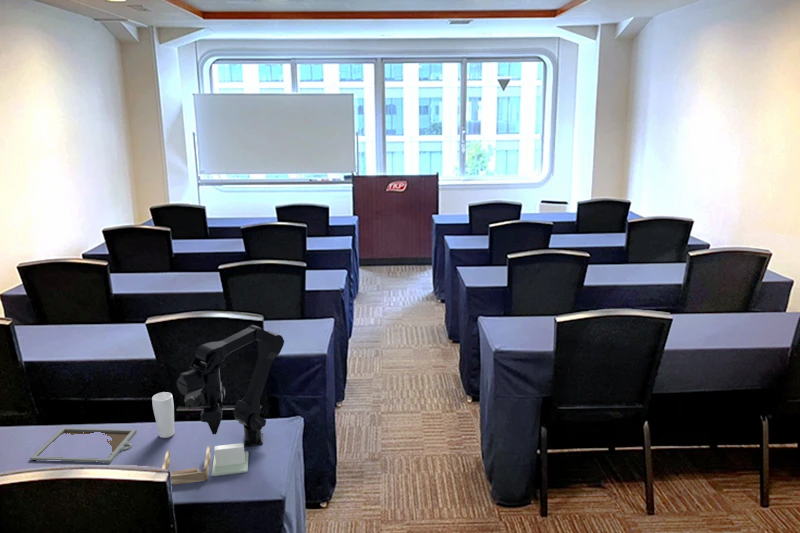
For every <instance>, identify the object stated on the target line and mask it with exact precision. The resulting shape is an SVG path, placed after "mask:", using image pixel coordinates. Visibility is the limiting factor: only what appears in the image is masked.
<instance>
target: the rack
mask: <svg viewBox="0 0 800 533" xmlns="http://www.w3.org/2000/svg"><path fill="white" fill-rule="evenodd" d="M211 452H212V451H211V445H207V446H206V452H205V459H204V466H203V471H200V470H199V471H200V472H192V473H183V474H175V475H173V474H170V475H171V482H172V485H171V486H173V485H174V486H175V485H183V484H190V483H198V482H205V481H207V480H208V478H209V472H210V464H211V459H212V455H211ZM170 464H171V454H170V450H169V449H168V450H166V452H165V456H164V459H163V462H162V466H161V470H162V469H165V470H168V471H169V468H170Z"/></svg>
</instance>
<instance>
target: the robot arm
mask: <svg viewBox="0 0 800 533" xmlns="http://www.w3.org/2000/svg"><path fill="white" fill-rule="evenodd" d="M255 341H258V343H257V353H258V358H257V360H256V364H255V367H254V370H253V371H252V374H251V375H252V376H251V378H250V382H249V384H248V388H247V389H246V393H245V395H244V397H243V398H242V399H241V400H240V399H237V400H236V402H235V406H234V408H233V410H232V411H233V417H234V419H235V420H236V421H237V422H238V423H239V424H240V425H241V424H242V426H243V431H244V432H243V433H244V435H243V443H244V447H247V446H256V445H263V444H264V433H263V432H262V429H263V428H264V427H265V426H266V424H267V419H266V418H264V417H262V416H261V411H262V409H261V403H260V400H261V396H262V394H263V392H264V387H265V385H266V382H267V378H268V375H269V372H270V370H271V366H272V363H273V361H274V359H276V358H277V357H278V355H280V354H281V351H282V349H283V347H284V344H285V339H284V337H283V336H282V335H280V334H278V333H275V332H273V331H269V330H265V329H263V328H262V327H261V326H257V325H255V324H251V325H249V326H248V327H247V328H245V329H241V330H240V331H239V332H237V333H234V334H232V335H231V336H228V337H226V338H224V339H222V340H219V341H210V342H206V343H204V344H201V345H199V346H198V347H197V350H196V352H195V354H194V356H193V359H192V361H191V363H190V365H189V368H190V370H188V371H186V372H185V371H183V372H181V373H180V374H179V377H178V378H177V379H176V387H177V389H178V391H179V393H180V394H181V395H183V396H184V400H183V401H184V404H185V407H186V408H187V409H188V410H191V409H193V408H195V407H197V406H199V405H201V406H208V407H203V408H202V409H201V413H200V422H202V423H207V425H208V426H209V427H208V428H209V429H210V432H211V434H212V435H217V434H218V431H219V428H220V425H221V422H222V420H223V405H224V402H225V398H226V388H225V386H223V384H222V381H221V373H220V371H221V370H220V369H223V368H225V367H226V364H225V363H223V361H224V360H225V359H226V357H227V356H228V355H230V354H231V353H232V352H235V351H236V350H238V349H241V348H242V347H244V346H246V345H248V344H251V343H253V342H255ZM200 363H202V364H205V365H202V364H200ZM209 406H210V407H209Z"/></svg>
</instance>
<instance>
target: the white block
mask: <svg viewBox="0 0 800 533" xmlns="http://www.w3.org/2000/svg"><path fill="white" fill-rule="evenodd" d="M213 451H214V455H215V461H216V466H224V465H233V464H241V463H245V454H244V452H245V446H244V442H237V443H231V444H222V445H214V450H213Z"/></svg>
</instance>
